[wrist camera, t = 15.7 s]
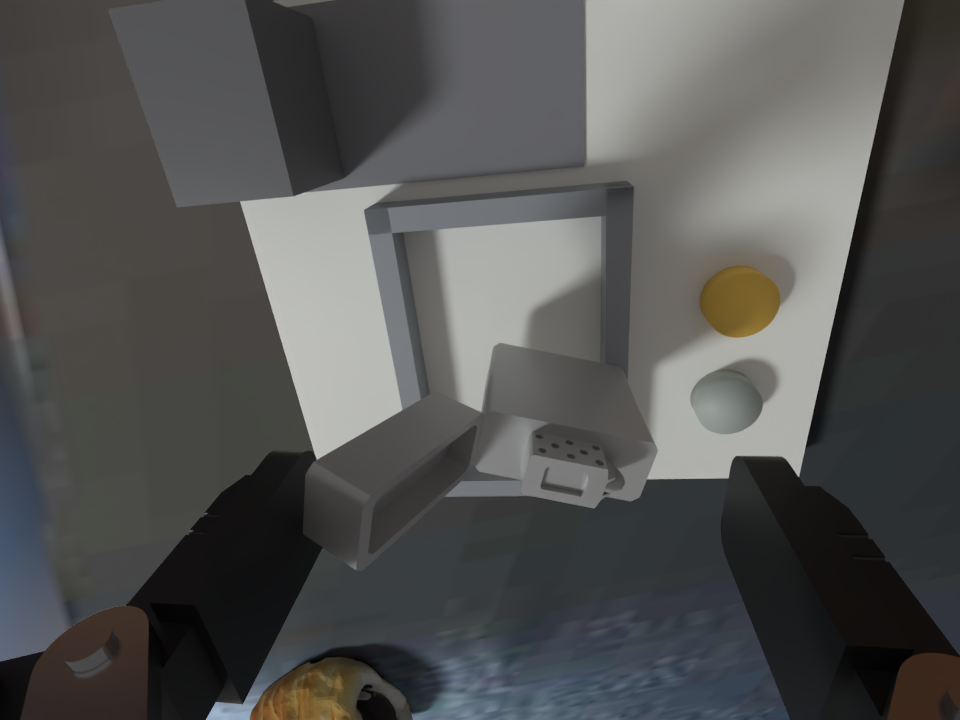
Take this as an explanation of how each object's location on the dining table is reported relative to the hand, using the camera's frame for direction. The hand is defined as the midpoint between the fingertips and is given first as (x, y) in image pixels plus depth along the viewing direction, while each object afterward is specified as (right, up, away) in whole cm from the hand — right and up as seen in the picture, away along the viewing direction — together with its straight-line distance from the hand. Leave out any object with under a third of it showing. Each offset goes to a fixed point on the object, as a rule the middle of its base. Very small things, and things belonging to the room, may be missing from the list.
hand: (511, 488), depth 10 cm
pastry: (-9, -17, +20) cm, 27 cm away
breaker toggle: (-6, +10, +4) cm, 12 cm away
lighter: (0, +2, +6) cm, 7 cm away
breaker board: (+1, +6, +7) cm, 9 cm away
